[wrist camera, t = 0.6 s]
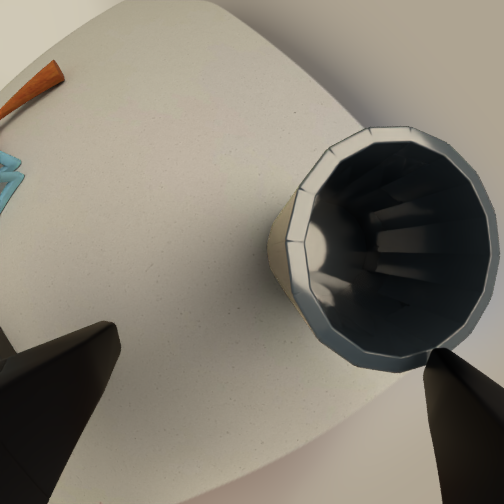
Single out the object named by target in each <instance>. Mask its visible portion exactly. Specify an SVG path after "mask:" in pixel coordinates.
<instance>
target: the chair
mask: <svg viewBox="0 0 504 504" xmlns="http://www.w3.org/2000/svg"><path fill="white" fill-rule="evenodd" d="M0 164H2V165H4V166H3V167H2V168H0V183H1V182H8V183H7V184H6V186H5V188H4V189H3V191H2V193H1V194H0V213H1V211H2V210H3V208H4V206H5V205H6V203H7V201H8V200H9V198H10V197H11V195H12V194H13V192H14V191H15V189H16V188H17V187H18V185H19V184H20V183H21V181H22V180H23V178H24V174H22V173H20V172H17V171H16V172H13V171H14V170H15V169H17V168H18V167H19V165H20V164H21V160H19V159H17V158H15V157H13V156H11V155H9V154H6V153H4V152H2V151H0Z"/></svg>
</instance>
